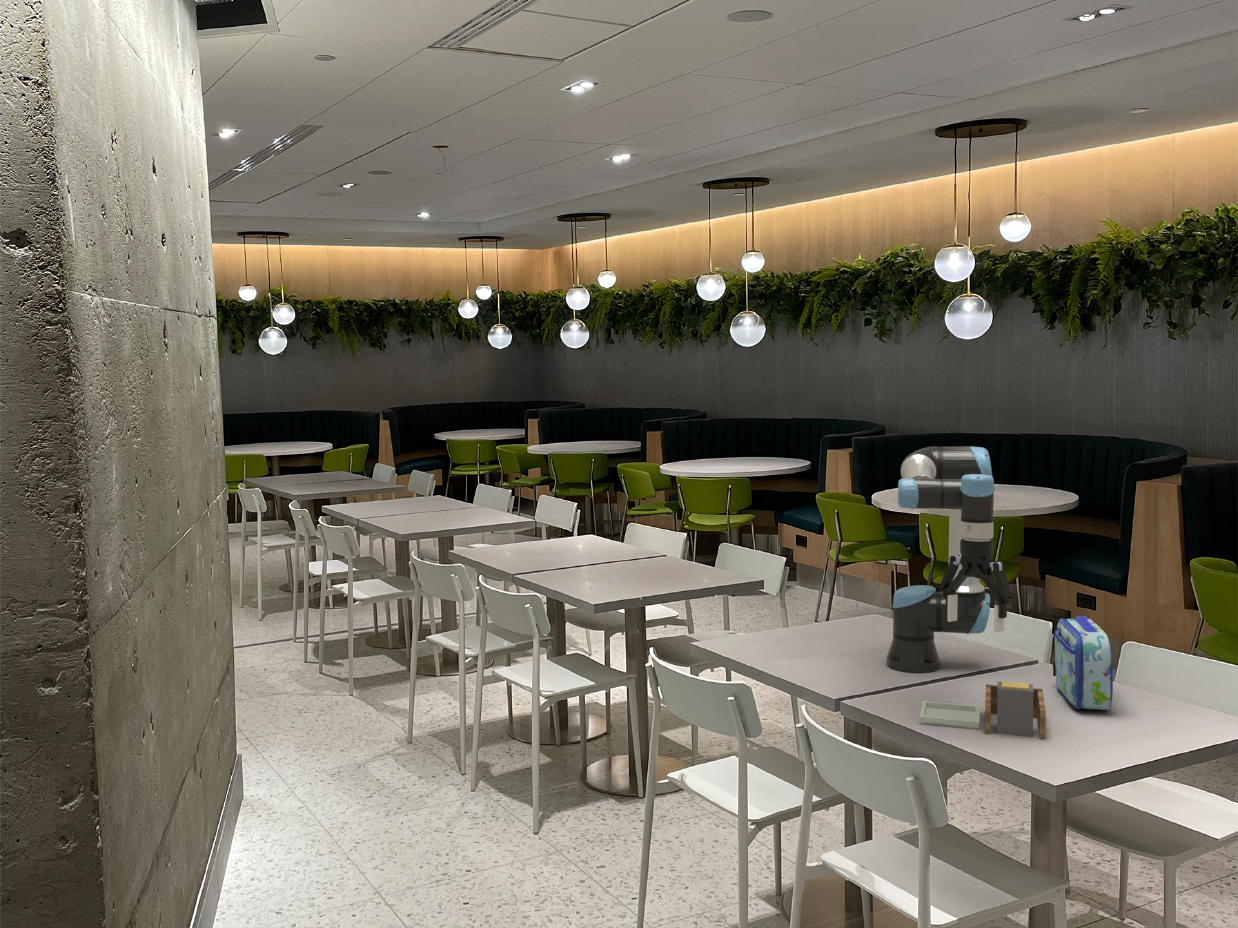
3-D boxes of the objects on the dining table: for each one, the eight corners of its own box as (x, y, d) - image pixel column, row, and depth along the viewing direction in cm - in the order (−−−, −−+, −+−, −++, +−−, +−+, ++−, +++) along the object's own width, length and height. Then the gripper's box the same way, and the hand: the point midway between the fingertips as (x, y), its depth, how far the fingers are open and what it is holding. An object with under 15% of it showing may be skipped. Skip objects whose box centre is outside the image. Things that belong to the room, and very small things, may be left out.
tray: (922, 707, 274) (922, 700, 274) (979, 712, 270) (980, 705, 269) (919, 723, 262) (919, 716, 262) (979, 729, 257) (979, 722, 257)
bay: (985, 711, 271) (985, 684, 270) (1041, 716, 266) (1042, 688, 266) (984, 733, 255) (985, 704, 254) (1045, 739, 250) (1045, 710, 249)
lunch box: (1049, 684, 292) (1051, 609, 290) (1091, 685, 290) (1093, 610, 288) (1070, 714, 267) (1072, 633, 265) (1115, 717, 265) (1118, 634, 263)
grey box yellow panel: (996, 725, 260) (997, 679, 259) (1031, 728, 258) (1032, 682, 257) (996, 733, 255) (997, 686, 254) (1032, 736, 252) (1033, 689, 251)
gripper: (924, 534, 264) (923, 618, 265) (1011, 546, 243) (1009, 638, 244) (945, 531, 268) (943, 614, 269) (1031, 543, 247) (1029, 633, 248)
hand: (975, 626), depth 257 cm, fingers open, 13 cm apart
